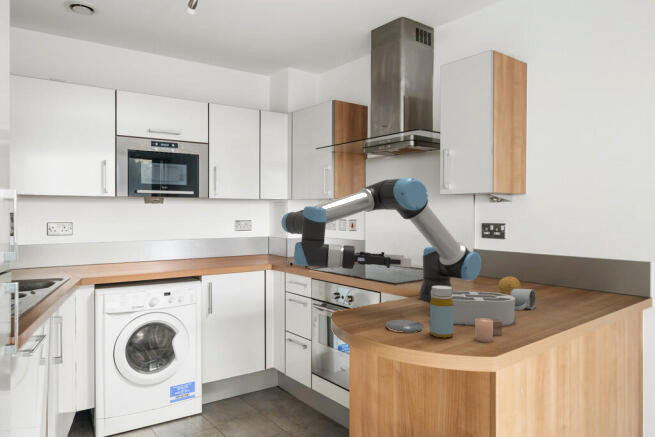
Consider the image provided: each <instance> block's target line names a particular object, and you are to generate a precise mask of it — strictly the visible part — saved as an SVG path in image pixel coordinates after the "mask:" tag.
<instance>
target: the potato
mask: <svg viewBox="0 0 655 437" xmlns="http://www.w3.org/2000/svg"><path fill="white" fill-rule="evenodd" d="M497 287H498V291H499V293H501V294H506V295H510V292H511V291H512V290H513V289H522V285H521V282H520V280H519V279H518V278H517V277H514V276H505V277H503V278H501V279H500V280H499V282H498V284H497Z"/></svg>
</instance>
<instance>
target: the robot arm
mask: <svg viewBox="0 0 655 437" xmlns="http://www.w3.org/2000/svg"><path fill="white" fill-rule="evenodd" d="M427 192H428V190H427V187H426V185H425V183H423V182H422V181H421V180H420V179H418V178H415V177H402V178H393V179H385V180H381V181H378V182H376V183H373V184H371V185H367V186H364V187H363V188H359V191H358V192H354V193H352V194H347V195H346V196H343V197H338V198H336V199H333V200H330V201H327V202H324V203H323V202H322V203H320V204H316V205H314V206H313V205H312V206H309V205H308V206H307V205H306V206H305V207H304V208H303V209H301V210H298V211H290V212H287V213H285V214H284V215H283V217H282V218H281V222H280V224H281V227H282V229H283V231H284V232H286V233H289V234H291V235H301V241H298V242H296V243H295V244H294V251H293V261H294V264H295V265H297V266H304V267H305V266H306V267H313V268H314V267H315V268H317V267H319V268H330V269H331V270H334V268H335V269H336V268H337V269H340V268H342V269H346V270H347V269H349V270H351V269H354V266H355V263H357V264H359V265H376V266H385V267H386V269H390V268H391V267H400V268H402V267H404V268H412V258H411V257H405V255H403V254H402V255H401V254H389V253H385V252H384V251H381V253H371V252H365V251H359V252H355V251H356V248H355V246H354V245H343V246H342V244H334V243H333V244H332V243H331V244H330V243H329V244H328V243H325V236H326V225H327V224H330V223H333V222H336V221H339V220H342V219H345V218H347V217H350V216H353V215H357V214H358V213H362V212H366V213H370V212H372V211H373V212H374V211H380V210H382V211H383V210H386V211H387V210H388V211H389V210H390V211H393V210H395V211H396V212H397V213H398V214H399V215H400V216H401V217H402V218H403V219H404V220H409V221H410V222H411V223H412V225H414V227H415V228H416V229H417V230H418V232H420V234H421V235H422V236H423V238H424V239H425V240H426V241H427V242H428V243H429V245H431V246H427V247H424V248H423V253H422V254H423V255H422V283H421V286H420V288H419V292H418V298H419V297H420V298H421V299H422V301H425V302H430V301H431V290H432V286H450V287H452V291H454V289H453V285H452V283H451V278H453V279H458V280H463V281H473V280H475V279H476V278H478V276H479V274H480V272H481V270H482V257H481V255H480V254H479V253H478V252H475V251H472V250H471V251H470V250H469V249H468V248H467V247H466V245H465V244H464V243H462V242H459V241H457V240H456V239H455V238H454V236H453V235H452V234H451V233H450V232H449V230H448V229H447V228H446V226H445V225H444V223H443V222H442V221H441V220H440V219H439V218H438V216H437V215H436V214H435V213H434V211H433V210H432V209H431V207H430V206H429V199H428V198H429V195H428V193H427ZM421 299H420V300H421Z"/></svg>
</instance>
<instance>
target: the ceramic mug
mask: <svg viewBox="0 0 655 437" xmlns="http://www.w3.org/2000/svg"><path fill="white" fill-rule="evenodd" d="M510 296H513V297H514V298H515V304H514V311H522V310H524V309H528V310H533V309H534V308H535V306H536V302H537V295H536V292H535V290H534V289H530V288H527V289H526V288H521V289H513V290H512V291H511V292H510Z"/></svg>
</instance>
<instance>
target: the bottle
mask: <svg viewBox="0 0 655 437" xmlns="http://www.w3.org/2000/svg"><path fill="white" fill-rule="evenodd" d="M452 289H453V286H452V287H450V286H432V298H431V301H429V333H430V335H431V336H432V335H433V336H432V337H434V336H436V337H435V338H438V337H444V338H443V339H447V338H446V337H450V338H452V336H453V335H454V324H453V316H454V304H453V300H452Z"/></svg>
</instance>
